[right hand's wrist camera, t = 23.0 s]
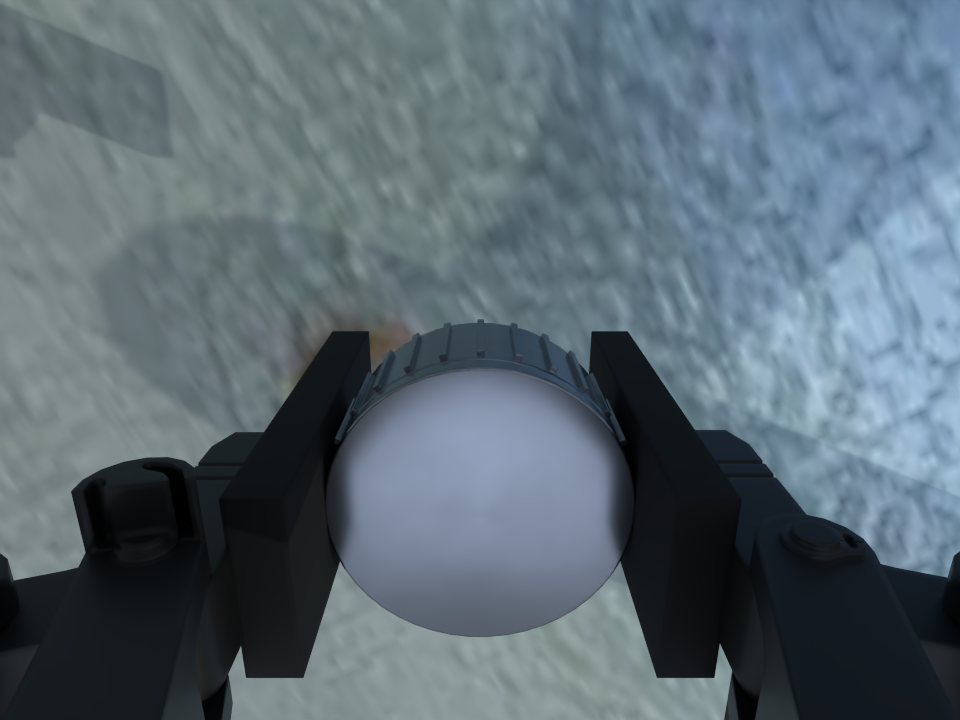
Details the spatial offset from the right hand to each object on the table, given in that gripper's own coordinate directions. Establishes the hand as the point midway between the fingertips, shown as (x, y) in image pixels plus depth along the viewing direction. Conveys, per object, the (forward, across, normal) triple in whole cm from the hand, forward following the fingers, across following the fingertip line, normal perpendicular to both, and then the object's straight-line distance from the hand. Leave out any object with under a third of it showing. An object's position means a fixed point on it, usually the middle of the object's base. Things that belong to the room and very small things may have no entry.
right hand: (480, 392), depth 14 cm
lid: (-4, 0, 0) cm, 4 cm away
